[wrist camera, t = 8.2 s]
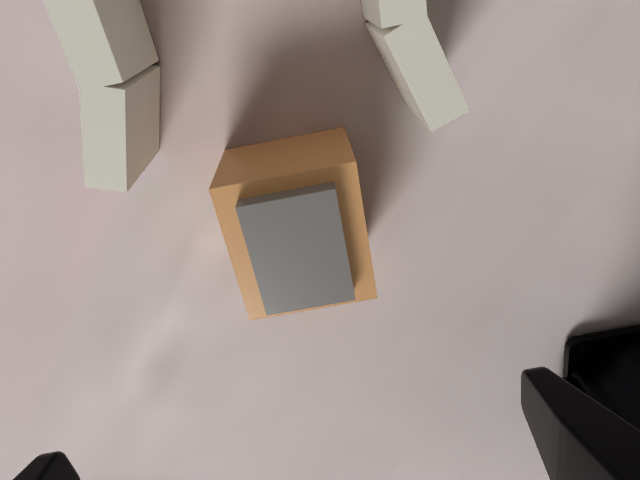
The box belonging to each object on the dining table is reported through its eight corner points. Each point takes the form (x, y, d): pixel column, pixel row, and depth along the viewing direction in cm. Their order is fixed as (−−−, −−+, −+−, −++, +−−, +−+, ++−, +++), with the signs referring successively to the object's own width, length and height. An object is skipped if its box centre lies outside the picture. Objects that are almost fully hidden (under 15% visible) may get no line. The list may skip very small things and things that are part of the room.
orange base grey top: (344, 125, 18) (358, 168, 14) (363, 243, 21) (380, 308, 17) (225, 148, 18) (205, 196, 14) (257, 262, 21) (248, 331, 17)
